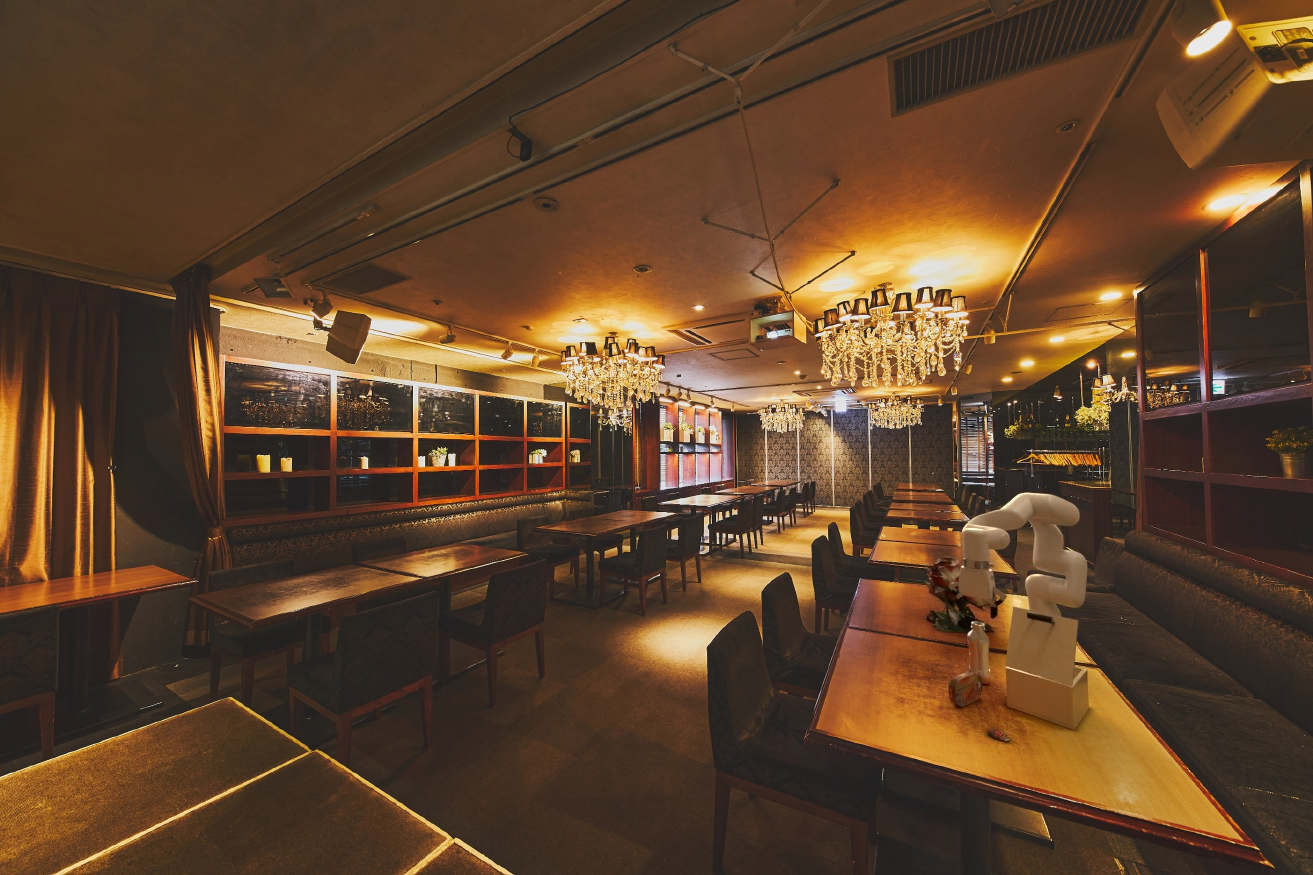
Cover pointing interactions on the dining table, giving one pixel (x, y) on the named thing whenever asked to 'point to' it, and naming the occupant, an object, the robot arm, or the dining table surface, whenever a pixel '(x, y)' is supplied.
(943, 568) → the rose bouquet
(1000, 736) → the matchbox
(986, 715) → the dining table surface
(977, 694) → the tin
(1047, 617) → the bin lid
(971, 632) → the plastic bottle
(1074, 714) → the bin
